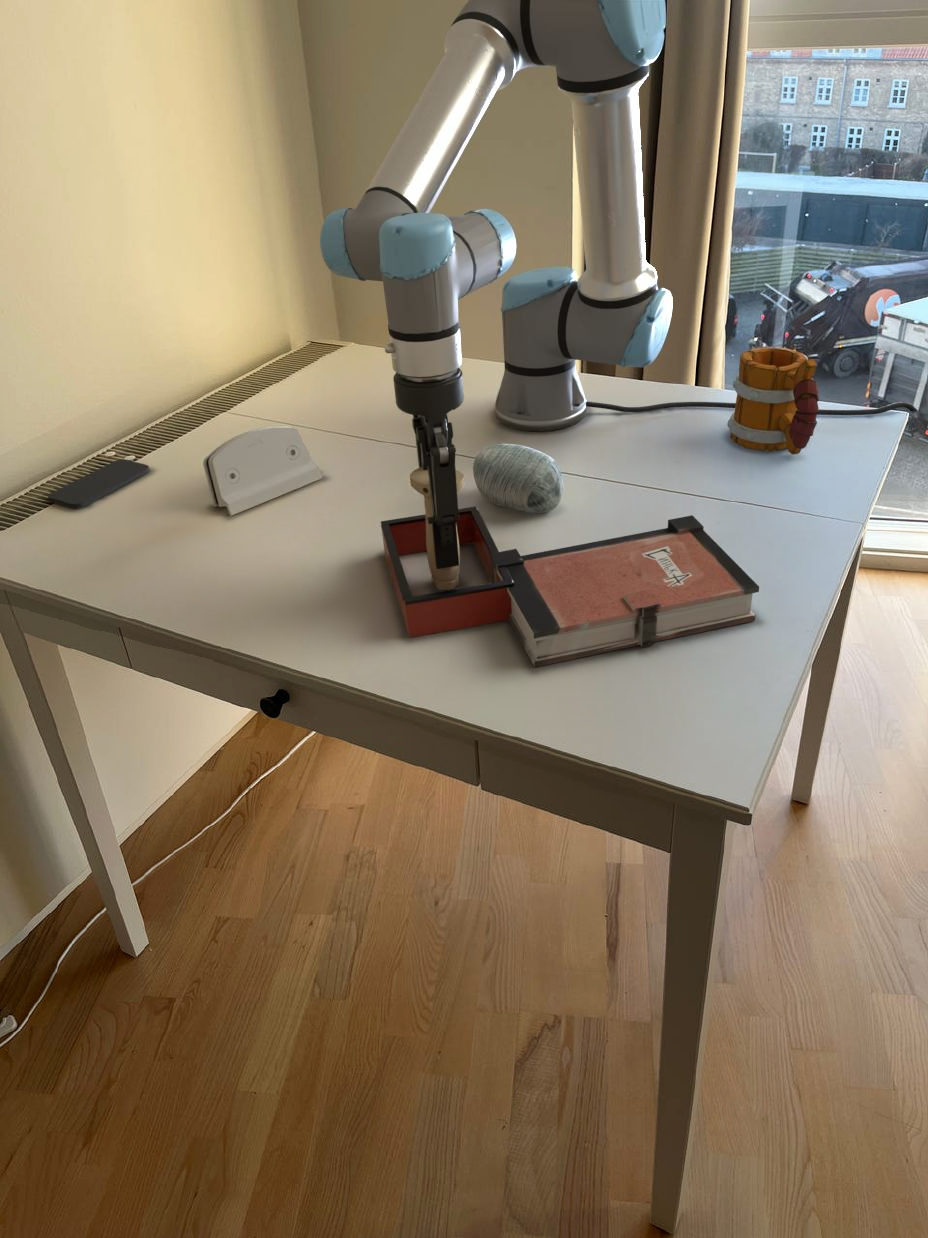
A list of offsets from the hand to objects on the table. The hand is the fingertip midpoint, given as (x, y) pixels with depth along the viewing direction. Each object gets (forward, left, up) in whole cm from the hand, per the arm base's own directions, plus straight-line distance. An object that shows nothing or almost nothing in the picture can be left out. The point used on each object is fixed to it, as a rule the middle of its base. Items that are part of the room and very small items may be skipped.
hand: (443, 555), depth 116 cm
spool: (-14, -18, -4) cm, 23 cm away
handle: (0, 0, -4) cm, 4 cm away
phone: (+46, -45, -4) cm, 64 cm away
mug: (-56, -24, -4) cm, 61 cm away
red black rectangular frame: (0, 0, -4) cm, 4 cm away
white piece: (+21, -35, -4) cm, 41 cm away
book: (-19, +11, -4) cm, 22 cm away
